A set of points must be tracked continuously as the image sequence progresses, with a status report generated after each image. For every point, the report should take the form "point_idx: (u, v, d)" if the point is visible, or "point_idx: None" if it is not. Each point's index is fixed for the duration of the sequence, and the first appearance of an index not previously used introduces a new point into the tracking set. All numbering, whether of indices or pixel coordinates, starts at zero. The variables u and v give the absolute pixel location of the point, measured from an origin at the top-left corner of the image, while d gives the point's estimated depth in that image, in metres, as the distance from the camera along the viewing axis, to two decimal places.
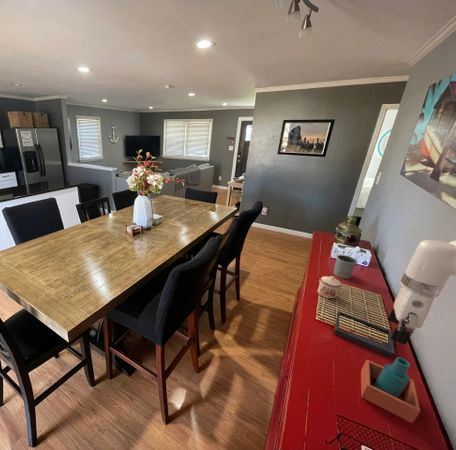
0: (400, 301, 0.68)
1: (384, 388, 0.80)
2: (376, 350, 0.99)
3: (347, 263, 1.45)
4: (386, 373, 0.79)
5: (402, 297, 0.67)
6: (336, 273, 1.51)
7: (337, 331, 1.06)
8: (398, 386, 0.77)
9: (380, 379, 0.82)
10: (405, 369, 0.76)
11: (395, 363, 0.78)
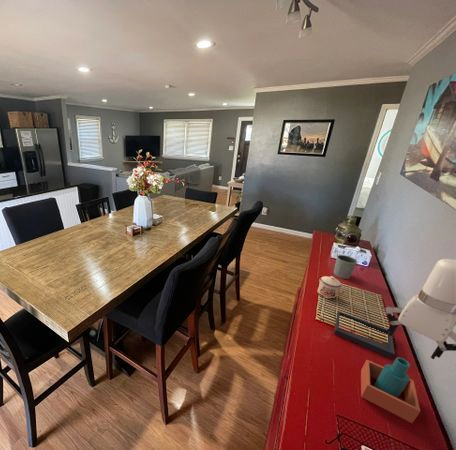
0: (433, 324, 0.68)
1: (384, 388, 0.80)
2: (376, 350, 0.99)
3: (347, 263, 1.45)
4: (386, 373, 0.79)
5: (436, 320, 0.67)
6: (336, 273, 1.51)
7: (337, 331, 1.06)
8: (398, 386, 0.77)
9: (380, 379, 0.82)
10: (405, 369, 0.76)
11: (395, 363, 0.78)
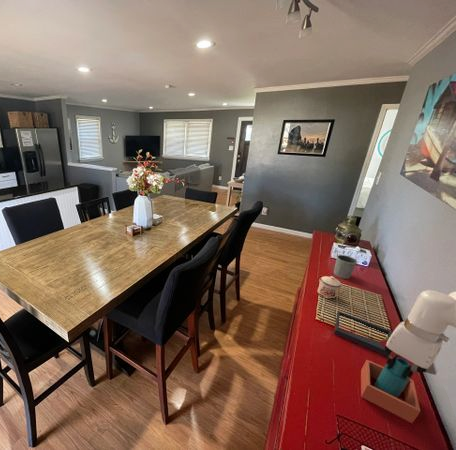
0: (418, 351, 0.72)
1: (384, 388, 0.80)
2: (376, 350, 0.99)
3: (347, 263, 1.45)
4: (386, 373, 0.79)
5: (420, 348, 0.71)
6: (336, 273, 1.51)
7: (337, 331, 1.06)
8: (398, 386, 0.77)
9: (380, 379, 0.82)
10: (405, 369, 0.76)
11: (395, 363, 0.78)
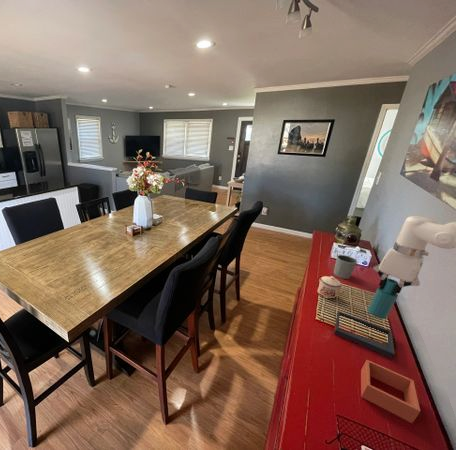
0: (404, 268, 0.87)
1: (377, 306, 0.95)
2: (376, 350, 0.99)
3: (347, 263, 1.45)
4: (379, 292, 0.95)
5: (406, 264, 0.86)
6: (336, 273, 1.51)
7: (337, 331, 1.06)
8: (389, 301, 0.93)
9: (374, 299, 0.97)
10: (394, 286, 0.92)
11: (386, 283, 0.93)
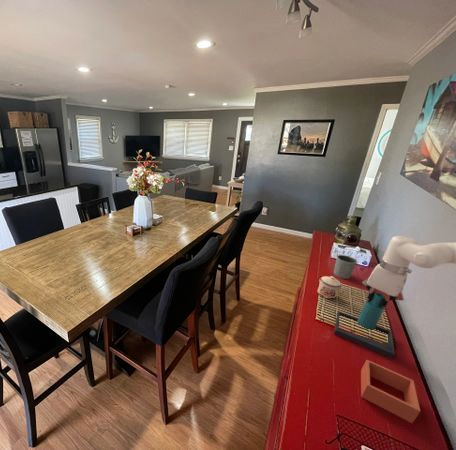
0: (390, 283, 0.94)
1: (365, 317, 1.03)
2: (376, 350, 0.99)
3: (347, 263, 1.45)
4: (367, 305, 1.02)
5: (391, 280, 0.94)
6: (336, 273, 1.51)
7: (337, 331, 1.06)
8: (376, 314, 1.00)
9: (362, 311, 1.04)
10: (381, 300, 0.99)
11: (373, 296, 1.00)
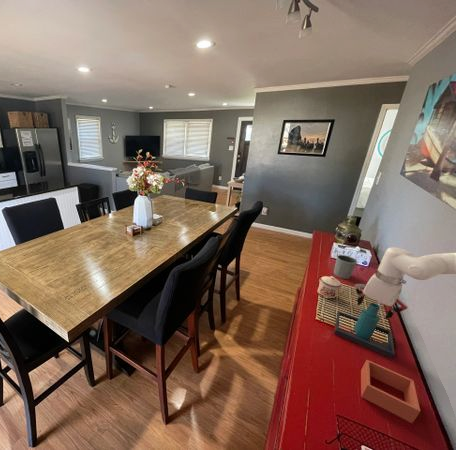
0: (385, 293, 0.96)
1: (361, 327, 1.05)
2: (376, 350, 0.99)
3: (347, 263, 1.45)
4: (362, 315, 1.04)
5: (387, 291, 0.95)
6: (336, 273, 1.51)
7: (337, 331, 1.06)
8: (371, 324, 1.02)
9: (358, 321, 1.06)
10: (376, 310, 1.01)
11: (369, 307, 1.02)
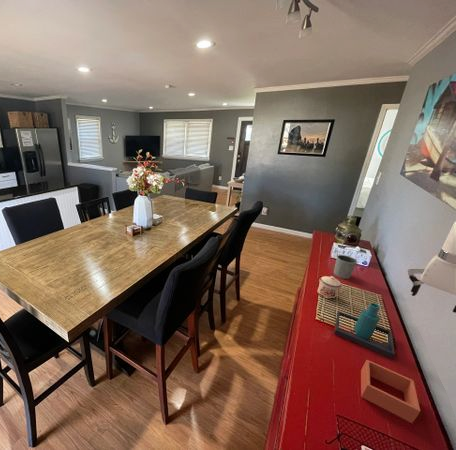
0: (454, 279, 0.75)
1: (361, 327, 1.05)
2: (376, 350, 0.99)
3: (347, 263, 1.45)
4: (362, 315, 1.04)
5: None
6: (336, 273, 1.51)
7: (337, 331, 1.06)
8: (371, 324, 1.02)
9: (358, 321, 1.06)
10: (376, 310, 1.01)
11: (369, 307, 1.02)
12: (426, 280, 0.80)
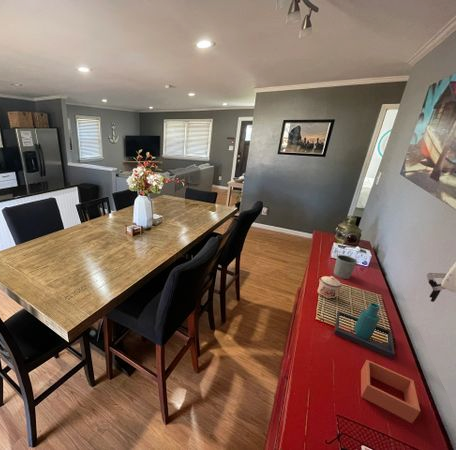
0: None
1: (361, 327, 1.05)
2: (376, 350, 0.99)
3: (347, 263, 1.45)
4: (362, 315, 1.04)
5: None
6: (336, 273, 1.51)
7: (337, 331, 1.06)
8: (371, 324, 1.02)
9: (358, 321, 1.06)
10: (376, 310, 1.01)
11: (369, 307, 1.02)
12: (448, 285, 0.74)
